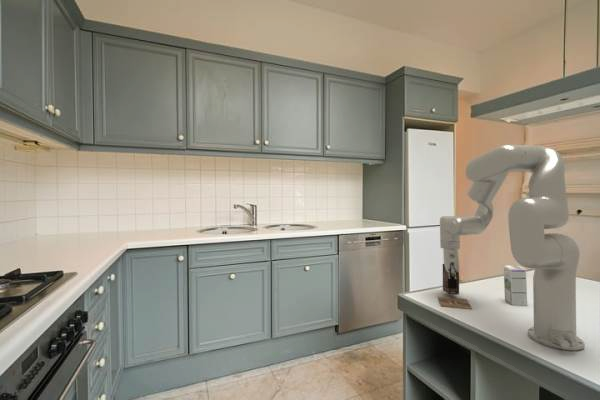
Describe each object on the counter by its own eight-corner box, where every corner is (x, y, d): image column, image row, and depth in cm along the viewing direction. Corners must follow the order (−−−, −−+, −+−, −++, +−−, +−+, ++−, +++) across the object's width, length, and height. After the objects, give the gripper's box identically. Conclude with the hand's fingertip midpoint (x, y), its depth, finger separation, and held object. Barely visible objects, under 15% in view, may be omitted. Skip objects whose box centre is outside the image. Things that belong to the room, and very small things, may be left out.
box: (460, 294, 123) (459, 266, 123) (449, 295, 122) (449, 266, 122) (452, 290, 129) (451, 263, 129) (442, 290, 128) (441, 263, 128)
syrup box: (528, 305, 113) (527, 268, 113) (510, 305, 114) (510, 268, 114) (520, 300, 118) (519, 265, 118) (503, 300, 119) (503, 264, 119)
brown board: (472, 309, 110) (472, 308, 110) (440, 306, 114) (440, 305, 114) (466, 299, 121) (466, 299, 121) (437, 297, 124) (437, 296, 124)
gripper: (463, 248, 116) (464, 292, 116) (456, 242, 132) (457, 281, 132) (442, 247, 119) (443, 291, 119) (438, 241, 135) (439, 279, 135)
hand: (450, 285), depth 125 cm, fingers closed on box, 6 cm apart
